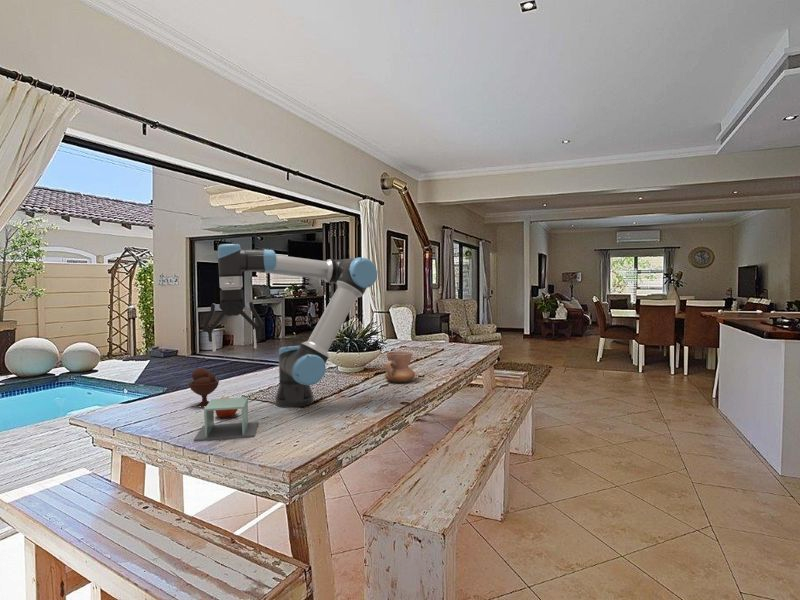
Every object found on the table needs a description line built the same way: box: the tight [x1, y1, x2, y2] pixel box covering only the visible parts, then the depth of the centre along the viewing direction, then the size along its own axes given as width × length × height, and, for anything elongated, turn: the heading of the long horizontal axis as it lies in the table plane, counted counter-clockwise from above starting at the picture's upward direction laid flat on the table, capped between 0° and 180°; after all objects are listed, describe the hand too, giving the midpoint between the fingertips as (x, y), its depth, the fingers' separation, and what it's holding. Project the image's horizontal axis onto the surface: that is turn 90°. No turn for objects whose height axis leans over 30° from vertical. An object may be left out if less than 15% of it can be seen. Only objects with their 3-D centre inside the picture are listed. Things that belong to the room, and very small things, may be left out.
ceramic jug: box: [384, 350, 416, 384], centre depth 226 cm, size 18×14×14 cm
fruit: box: [214, 396, 239, 419], centre depth 170 cm, size 8×8×8 cm
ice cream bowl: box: [188, 367, 220, 408], centre depth 185 cm, size 11×11×15 cm
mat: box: [193, 421, 259, 442], centre depth 154 cm, size 18×14×1 cm
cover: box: [203, 396, 249, 438], centre depth 153 cm, size 12×12×9 cm
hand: (235, 349), depth 164 cm, fingers open, 13 cm apart
